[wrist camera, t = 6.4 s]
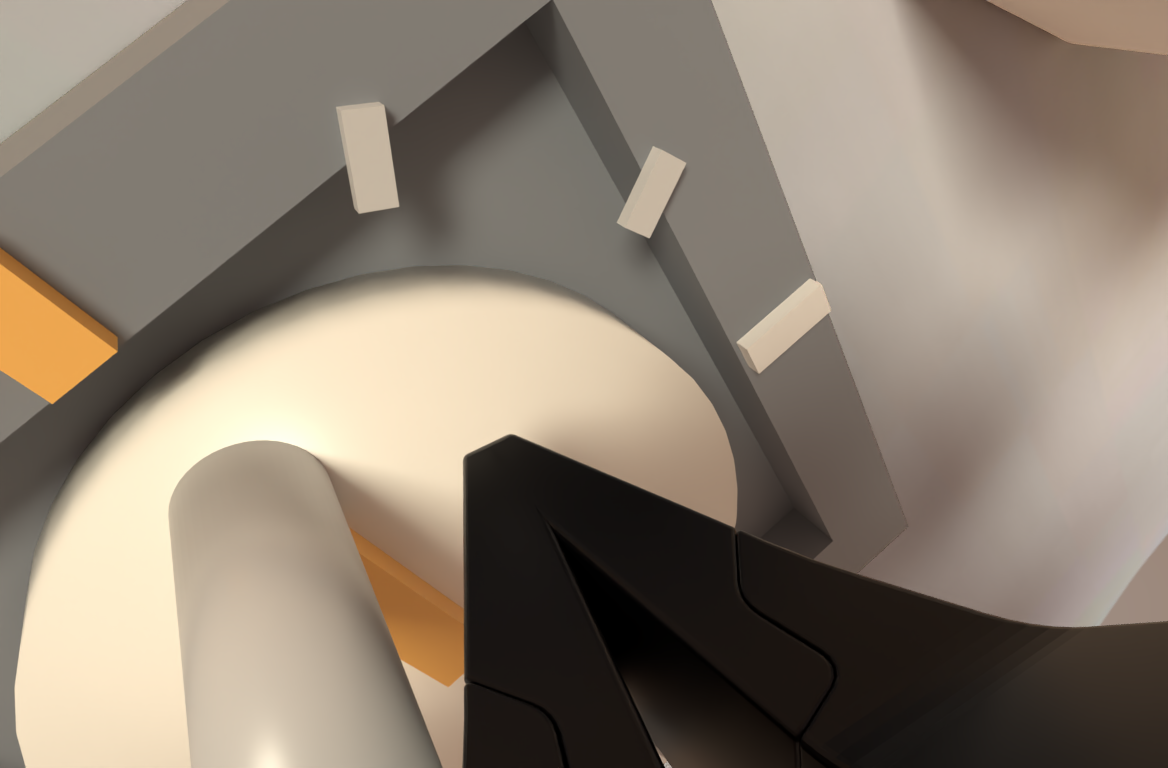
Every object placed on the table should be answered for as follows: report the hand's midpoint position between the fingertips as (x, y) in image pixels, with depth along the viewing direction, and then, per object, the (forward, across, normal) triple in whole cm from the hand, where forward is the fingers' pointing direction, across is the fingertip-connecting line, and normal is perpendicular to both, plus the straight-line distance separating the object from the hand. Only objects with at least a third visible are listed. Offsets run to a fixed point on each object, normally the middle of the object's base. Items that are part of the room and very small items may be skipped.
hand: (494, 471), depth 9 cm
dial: (+4, +1, +5) cm, 6 cm away
